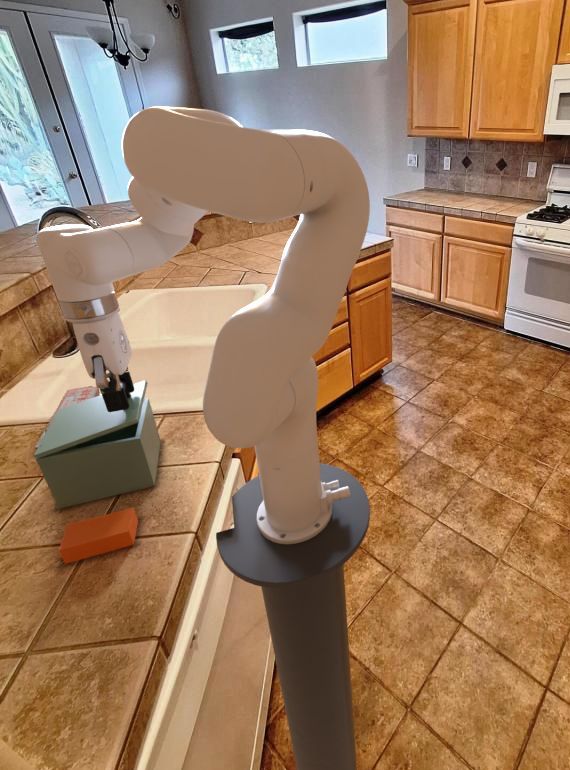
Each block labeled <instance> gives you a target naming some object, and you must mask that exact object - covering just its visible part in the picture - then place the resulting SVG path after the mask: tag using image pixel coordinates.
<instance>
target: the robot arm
mask: <svg viewBox="0 0 570 770" xmlns="http://www.w3.org/2000/svg"><path fill="white" fill-rule="evenodd" d="M121 152H122V153H121V154H122V157H123V161H124V164H125V167H126V168H127V171H128V172H129V174H130V176H131V178H130V179H129V181H128V185H127V195H128V198H129V201H130V204H131V207H133V209H134V211H135V212H136V213H137V215H139V216H140V218H138V219H137V220H133V221H131V222H124V223H119V224H114V225H111V226H105V227H100V228H95V229H94V228H93V227H92V226H89V225H86V224H61V225H55V226H50V227H46V228H43V229H40V230H39V231H38V232H37V234H36V236H35V237H36V238H35V239H36V244H37V247H38V250H39V252H40V255H41V257H42V260H43V263H44V265H45V266H44V267H45V268H46V271H47V274H48V276H49V279H50V282H51V284H52V287H53V291H54V293H55V296H56V298H57V301H58V304H59V307H60V310H61V312H62V315H63V318H64V321H66V322H68V323H72V327H73V331H74V336H75V339H76V343H77V346H78V350H79V354H80V356H81V359H82V362H83V365H84V368H85V370H86V372H87V374H88V376H89V378H90V379H93V380H94V379H95V387H97V388H99V392H100V395H102V396H103V399H104V402H105V405H106V408H107V411H108V412H114V411H120V410H125V409H128V408H129V402H128V399H127V396H126V393H125V390H124V388H121V385H120V380H119V378H124V379H125V380H126V381H127V384H126V388H127V389H128V391H129V393H130V392H134V389H135V388H134V385H133V384H134V383H133V378H132V376H131V372H130V371H129V363H130V361H131V358H132V354H133V348H132V346H131V344H130V340H129V337H128V334H127V332H126V329H125V327H124V324H123V321H122V318H121V315H120V314H119V312H120V311H121V308H120V307H121V306H120V303H119V300H118V297H117V294H116V289H115V287H114V284H113V283H115V282H118V281H121V280H124V279H127V278H130V277H132V276H136V275H140V274H141V273H145V272H148V271H152V270H154V269H158V268H159V267H162V266H163V265H165V264H166V263H168V262H169V261H171V260H172V259H173V258H174V257H176V256H177V255H178V254H179V253H180V252H181V251H183V250H184V249H185V248H186V247H187V246H188V245H189V244H190V242H191V241H192V238H193V235H194V231H195V224H196V223H198V222H199V221H200V220H201V219H202V218H203V217H204V216H205V215H206V214H207V213H208V212H210V213H212V214H213V213H214V214H216V215H219V216H220V215H221V216H225V217H228V218H231V219H236V220H240V221H245V222H249V223H257V224H258V223H260V224H266V223H274V222H279V221H282V220H286V219H289V218H293V217H297V216H299V220H298V223H297V225H296V227H295V228H294V230H293V232H292V234H291V236H290V237H289V239H288V240H287V242H286V245H285V246H284V250H283V252H282V255H281V259H280V264H279V268H278V270H277V273H276V276H275V279H274V282H273V284H272V286H271V288H270V289H269V291H268V292H267V293H265V294H264V295H262V297H260V298H258V299H257V300H255V301H253V302H251V303H249V304H248V305H246V306H244V307H243V308H241V309H239V310H238V311H236V312H234V314H232V315H231V316H230V317H229V318H228V319H226V321H225V322H224V324H223V325H222V327H221V329H220V330H219V332H218V334H217V336H216V339H215V343H214V345H213V346H214V347H213V350H212V355H211V360H210V364H209V368H208V374H207V377H206V382H205V387H204V390H203V391H204V392H203V397H202V398H203V399H202V412H203V418H204V422H205V424H206V427H207V429H208V430H209V432H210V433H211V435H212V436H213V437H214V438H215V439H216V440H217V441H218V442H219V443H221V444H222V445H224V446H226V447H229V448H232V449H239V450H240V449H249V448H253V447H254V452H255V458H256V464H257V471H258V475H259V477H260V483H261V489H262V494H263V501H262V503H261V505H260V506H259V508H258V512H257V524H258V528H259V530H260V532H261V533H262V535H263V536H264V537H266V538H267V539H268V540H270V541H272V542H275V543H279V544H296V543H300V542H304V541H306V540H309V539H311V538H312V537H314V536H316V535H317V534H318V533H320V532H321V531H322V530H323V529H324V528H325V527H326V526H327V524H328V522H329V521H330V518H331V516H332V509H333V508H332V504H333V501H336V500H342V499H346V498H349V497H350V490H349V487H348V486H346V487H343V488H339V481H338V480H336V481H332V482H330V483H326V484H325V482H323V483H322V481H321V475H320V463H321V462H320V453H319V443H318V441H319V439H318V428H317V427H318V426H317V404H318V402H317V401H318V394H319V371H318V367H317V364H316V362H315V360H314V358H313V356H315V355H316V354H317V353H318V352H319V351H320V350H321V349H322V348H323V346H324V345H325V343H326V342H327V340H328V338H329V336H330V333H331V331H332V328H333V326H334V323H335V319H336V317H337V314H338V312H339V309H340V307H341V304H342V302H343V299H344V296H345V294H346V291H347V288H348V285H349V282H350V279H351V276H352V273H353V271H354V268H355V266H356V263H357V261H358V258H359V256H360V253H361V251H362V248H363V245H364V241H365V239H366V235H367V233H368V232H367V231H368V226H369V221H370V213H371V212H370V211H371V203H370V191H369V188H368V183H367V180H366V177H365V175H364V173H363V169H362V168H361V166H360V165H359V163H358V161H357V159H356V158H355V157H354V155H353V154H352V153H351V151H350V150H349V149H348V148H347V147H346V146H345V145H344V144H343V143H342V142H340V141H339V140H337V139H336V138H334V137H332V136H330V135H328V134H326V133H323V132H319V131H315V130H308V129H275V128H271V129H270V128H250V127H244V126H243V125H242V124H240V122H239V121H237V120H236V119H234V118H233V117H232V116H229V115H228V114H225V113H223V112H219V111H216V110H212V109H205V108H204V109H203V108H191V107H189V108H188V107H177V106H164V105H155V106H150V107H146V108H143V109H141V110H140V111H138V112H137V113H135V114H134V115H133V116H131V118H130V119H129V120H128V122H127V124H126V126H125V127H124V130H123V133H122V137H121ZM107 371H108V373H107ZM336 488H339V489H338V490H334V491H330V490H331V489H336Z"/></svg>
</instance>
